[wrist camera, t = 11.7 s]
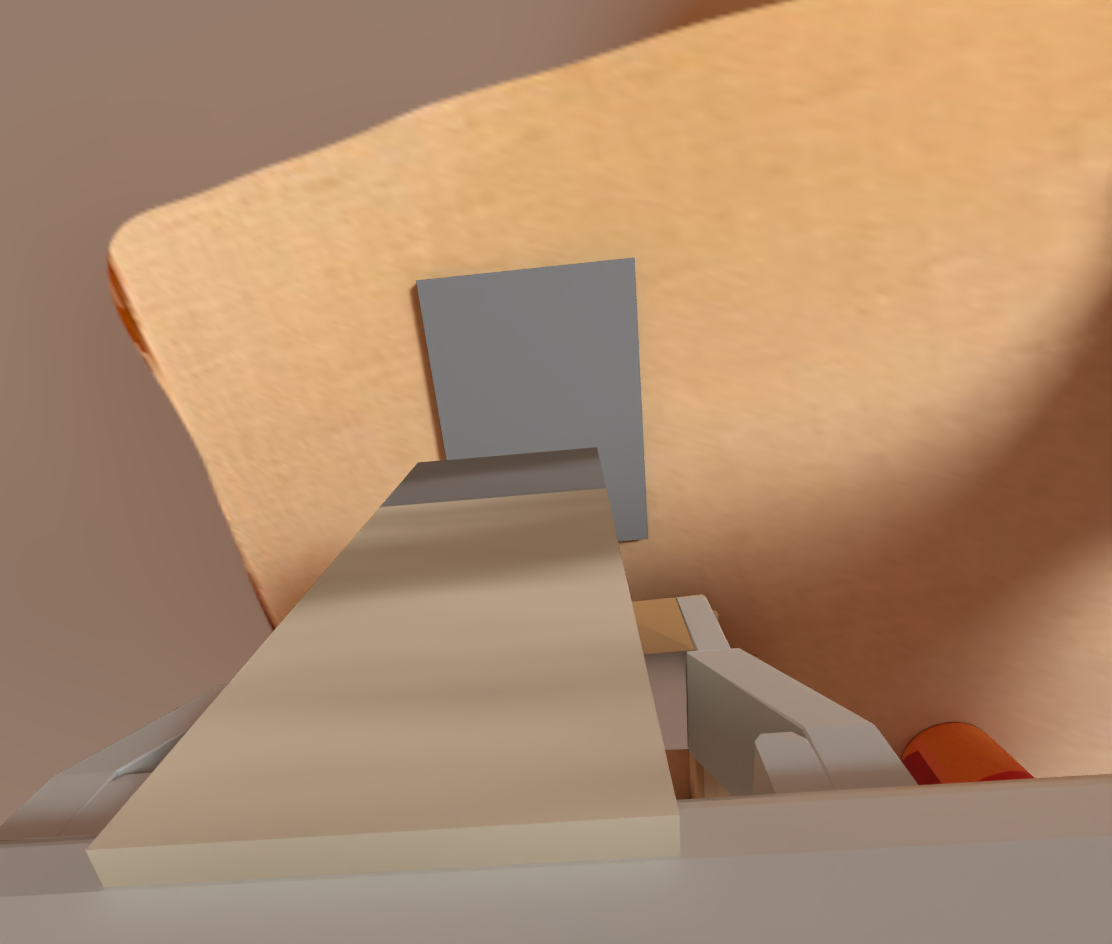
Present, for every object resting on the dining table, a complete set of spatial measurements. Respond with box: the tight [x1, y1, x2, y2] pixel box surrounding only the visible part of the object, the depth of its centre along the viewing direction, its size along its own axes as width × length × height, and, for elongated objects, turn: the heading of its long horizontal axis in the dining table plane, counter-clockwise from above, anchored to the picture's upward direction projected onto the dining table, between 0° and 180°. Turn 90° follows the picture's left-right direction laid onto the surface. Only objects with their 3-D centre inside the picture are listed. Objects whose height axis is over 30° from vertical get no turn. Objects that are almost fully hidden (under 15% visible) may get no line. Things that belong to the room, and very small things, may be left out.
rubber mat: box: [416, 258, 648, 541], centre depth 27 cm, size 14×10×1 cm
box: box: [86, 447, 681, 887], centre depth 9 cm, size 4×4×10 cm
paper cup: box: [901, 722, 1034, 785], centre depth 27 cm, size 8×8×14 cm
